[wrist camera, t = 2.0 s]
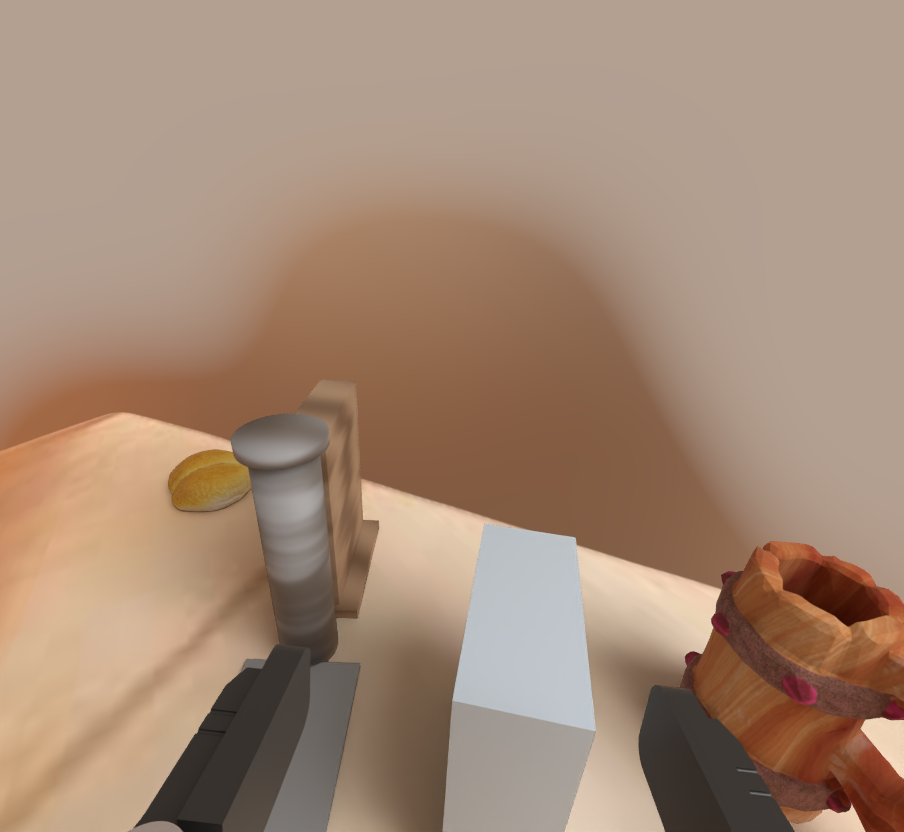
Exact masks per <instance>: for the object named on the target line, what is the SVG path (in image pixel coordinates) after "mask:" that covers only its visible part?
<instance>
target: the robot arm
mask: <svg viewBox="0 0 904 832" xmlns="http://www.w3.org/2000/svg"><path fill="white" fill-rule="evenodd" d="M310 660H311V653H310V649H309V648H307V647H298V646H289V645H280V644H278V645H276V646H275V647H274V648H273V650H272V652H271V653H270V655H269V657H268V659H267V660H266V662H265V664H264V666H263V667H262V669H259V668H250V667H247V668H246V669H245V670H243V671H242V672H241V673H240V674H239V675H238V676H236V677H235V678H234V679H233V680H232V681H231V682H229V683H228V684H227V685H226V686H225V688H224V689H223V691H222V692H221V694H220V696H219V697H218V699H217V700H216V702H215V704H214V705H213V707H212V708H211V712H210V714H208V715H207V716H206V718H205V719H204V721H203V722H202V724H201V726H200V727H199V730H198V733H197V734H195V735H194V737H193V738H192V740H191V741H190V743H189V745H188V746H187V748H186V749H185V751H184V752H183V754H182V756H181V757H180V759H179V760H178V762H177V764H176V765H175V767H174V768H173V770H172V771H171V773H170V775H169V776H168V778H167V779H166V781H165V782H164V784H163V786H162V787H161V789H160V790H159V792H158V794H157V795H156V797H155V798H154V800H153V801H152V803H151V805H150V806H149V808H148V809H147V811H146V812H145V814H144V815H143V817H142V818H141V820H140V821H139V822H138V823H137V824H136V826H135V827H134V828H133V829H132V830H130V831H128V832H264V830H265V827H266V824H267V822H268V819H269V817H270V814H271V812H272V809H273V806H274V804H275V801H276V799H277V796H278V794H279V791H280V788H281V786H282V783H283V781H284V778H285V776H286V773H287V770H288V768H289V765H290V763H291V760H292V758H293V755H294V752H295V750H296V747H297V745H298V742H299V740H300V737H301V734H302V732H303V729H304V726H305V723H306V719H307V715H308V710H309V703H310ZM639 755H640V761H641V765H642V768H643V771H644V774H645V777H646V779H647V782H648V785H649V788H650V790H651V793H652V796H653V799H654V801H655V804H656V807H657V810H658V812H659V815H660V818H661V821H662V823H663V826H664V829H665V832H795V831H794V830H793V828H792V826H791V825H790V823H789V821H788V820H787V818H786V816H785V815H784V813H783V811H782V810H781V808H780V807H779V805H778V803H777V802H776V800H775V798H772V797H771V792H770V790H769V788H768V787H767V785H766V783H765V782H764V780H763V779H762V777H761V775H758V773H757V769H756V767H755V765H754V764H753V762H752V760H751V759H750V757H749V755H748V754H747V752H746V751H745V749H744V747H743V746H742V744H741V742H740V741H739V740H738V739H737V738H736V737H735V736H734V735H733V734H732V733H731V732H730V731H729V730H728V729H727V728H726V727H725V726H724V725H723V724H722V723H721V722H720V721H719V720H718V719H714V718H708V717H707V715H706V714H705V712H704V710H703V708H702V706H701V705H700V703H699V701H698V699H697V698H696V696H695V694H694V693H693V692H692V691H691V690H689V689H684V688H675V687H666V686H657V685H655V686H654V687H653V688H652V689H651V692H650V696H649V700H648V704H647V707H646V711H645V715H644V719H643V722H642V726H641V730H640V734H639Z"/></svg>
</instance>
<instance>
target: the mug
mask: <svg viewBox="0 0 904 832" xmlns="http://www.w3.org/2000/svg"><path fill="white" fill-rule="evenodd" d="M721 576H722V582H723V587H722V590H721V593H720V595H719V598H718V600H717V603H716V613H715V614H714V615H713V617H712V618H711V622H712V625H713V627H714V628H713V630H712V633H711V636H710V639H709V641H708V643H707V645H706V648H705V650H704V652H703V654H699V653H697V652H689V653H688V654H687V655H686V656H685V662H686V665H687V668H686V670H685V673H684V676H683V680H682V683H681V686H680V688H684V689H689V690H691V691H692V692H693V693H694V694H695V696H696V698H697V699H698V701H699V703H700V705H701V706H702V708H703V710H704V712H705V714H706V715H707V717H708V718H714V719H718V720H719V721H720V722H721V723H722V724H723V725H724V726H725V727H726V728H727V729H728V730H729V731H730V732H731V733H732V734H733V735H734V736H735V737H736V738H737V739H738V740H739V741H740V742H741V744H742V746H743V747H744V749H745V751H746V752H747V754H748V755H749V757H750V759H751V760H752V762H753V764H754V765H755V767H756V769H757V773H758V775H761V777H762V779H763V780H764V782H765V783H766V785H767V787H768V788H769V790H770V792H771V797H772V798H775V800H776V802H777V803H778V805H779V807H780V808H781V810H782V811H783V813H784V815H785V816H786V818H787V820H788V821H789V822H793V823H797V824H798V823H803V822H809V821H811V820H813V819H814V818H815V817H816V816H818V815H819V814H820V813H821V812H822V810H825V809H831V810H833V811H835V812H837V813H840V812H847V811H849V810H850V808H851V803H852V805H853V807H854V809H855V810H856V812H857V815H858V817H859V819H860V821H861V823H862V825H863V827H864V829H865V831H866V832H904V779H903V778H902V777H900V776H899V775H898V774H897V772H896V771H895V770H894V768H893V767H892V766H891V765H890V763H889V762H888V761H887V760H886V759H885V758H884V757H883V756H882V754H881V753H880V752H879V751H878V750H877V748H876V747H875V746H874V745H873V744H872V742H871V741H870V740H869V739H868V738H867V736H866V735H865V734H864V733H863V732H862V730H861V727H862V725H863V723H864V721H865V720H866V719H873V718H880V717H883V718H886V719H889V720H904V604H903V603H902V601H901V600H900V598H899V597H898V596H897V595H895V594H894V593H893V592H891V591H890V590H889V589H885V588H881V587H877V586H876V584H875V582H874V581H873V579H872V577H871V576H870V574H869V573H867V572H866V571H865V570H863V569H861V568H859V567H857V566H855V565H853V564H850V563H847V562H844V561H841V560H839V559H838V558H836V557H835V556H822V555H821V554H819V553H818V551H816V549H815V548H814V547H812V546H809V545H806V544H800V543H788V542H773V541H772V542H770V543H768V544H766V545H765V546H764V547H763V549H761V548H759V547H758V546H757V548H756V549H755V551H754V552H753V553H752V555H751V558H750V559H749V561H748V563H747V565H746V567H745V569H744V571H739V572H729V571H728V572H726V573H724V574H722V575H721ZM844 790H845V791H844Z"/></svg>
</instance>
